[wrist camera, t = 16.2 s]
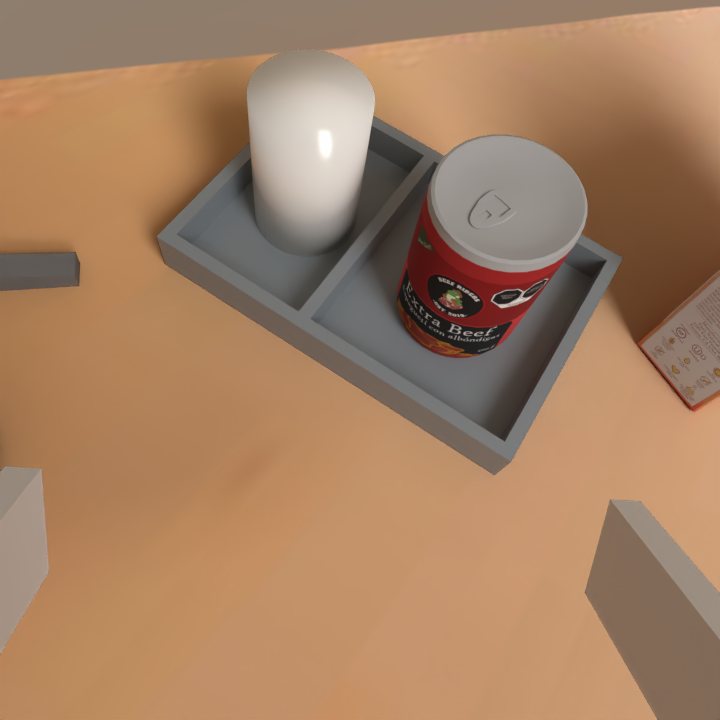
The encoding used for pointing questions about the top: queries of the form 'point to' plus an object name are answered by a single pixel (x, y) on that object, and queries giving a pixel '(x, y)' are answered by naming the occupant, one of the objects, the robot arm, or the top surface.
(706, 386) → the cracker box
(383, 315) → the caddy
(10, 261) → the toy submachine gun
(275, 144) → the ceramic jar
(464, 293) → the canned food
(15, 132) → the top surface
